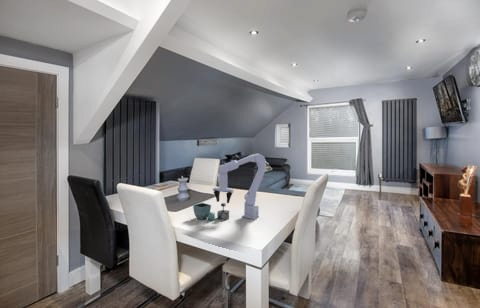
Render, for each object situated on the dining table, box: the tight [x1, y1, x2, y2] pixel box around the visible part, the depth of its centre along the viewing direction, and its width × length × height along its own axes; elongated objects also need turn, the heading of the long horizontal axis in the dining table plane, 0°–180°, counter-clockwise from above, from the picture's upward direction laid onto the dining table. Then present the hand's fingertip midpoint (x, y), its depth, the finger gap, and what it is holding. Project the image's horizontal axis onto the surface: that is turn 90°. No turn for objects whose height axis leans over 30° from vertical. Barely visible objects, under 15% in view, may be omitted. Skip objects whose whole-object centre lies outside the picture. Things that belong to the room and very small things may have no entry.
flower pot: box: [192, 202, 212, 220], centre depth 160 cm, size 9×9×9 cm
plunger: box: [220, 202, 227, 212], centre depth 160 cm, size 3×3×6 cm
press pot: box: [216, 209, 230, 221], centre depth 161 cm, size 8×9×4 cm
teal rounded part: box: [207, 211, 216, 222], centre depth 157 cm, size 5×5×4 cm
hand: (223, 202), depth 162 cm, fingers open, 7 cm apart
